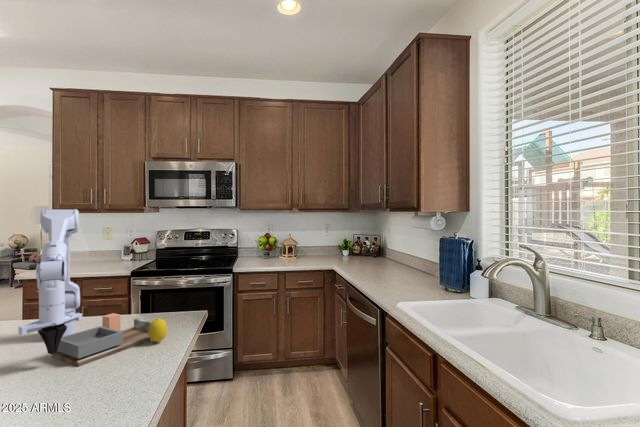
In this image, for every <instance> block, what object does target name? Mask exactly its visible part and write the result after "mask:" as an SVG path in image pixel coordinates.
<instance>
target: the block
mask: <svg viewBox="0 0 640 427" xmlns="http://www.w3.org/2000/svg"><path fill="white" fill-rule="evenodd" d="M101 317H102V320H101V321H102V324H101V326H103V327H106V328H110V329H114V330H118V331H121V314H118V313H114V312H113V313H109V314H106V315H102V316H101Z"/></svg>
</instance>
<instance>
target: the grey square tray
mask: <svg viewBox="0 0 640 427" xmlns="http://www.w3.org/2000/svg"><path fill="white" fill-rule="evenodd" d="M122 343H123V332H122V330H120V331H118V330H114V329H110V328H106V327H103V326H102V325H100V326H96V327H92V328H89V329H86V330H82V331H78V332H77V333H74V334H71V335H67V336H64V337H62V338H61V340H60V343H59V346H58V350H57V351H58V352H61V353H64V354H67V355H69V356H72V357H75V358H78V359H79V358H83V357H85V356H88V355H90V354H93V353H96V352H99V351H102V350H105V349H108V348H111V347H114V346H117V345H119V344H122Z"/></svg>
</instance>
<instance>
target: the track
mask: <svg viewBox="0 0 640 427" xmlns="http://www.w3.org/2000/svg"><path fill="white" fill-rule="evenodd" d="M152 322H153V321H150V320H145V319H142V318H139V317H138V318H134V319H133V327H129V328H126V329H123V330H122V329H121V331H122V332H123V343H122V344H119V345H117V346H114V347H111V348H108V349H105V350H102V351H99V352H96V353H93V354H90V355H88V356H85V357H83V358H79V359H78V358H75V357H72V356H69V355H67V354H64V353H61V352H58V351H57V353H54V354H51V357H52V358H54V359H56V360H60V361H62V362H66V363H67V364H70V365H73V366H76V367H81V366H84V365H87V364H90V363H93V362H95V361H98V360H101V359H103V358H106V357H108V356H111V355H114V354H116V353H120V352H122V351H125V350H127V349H131V348H133V347H135V346H138V345H141V344H145V343H146V342H149V341H152V340H151V338H150V337H149V327H150V324H151V323H152Z"/></svg>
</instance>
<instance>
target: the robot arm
mask: <svg viewBox="0 0 640 427" xmlns="http://www.w3.org/2000/svg"><path fill="white" fill-rule="evenodd" d="M39 218H40V226H41V228H42V230H43V232H44V233H45V234H48V241H47V242H46V243H44V244H43V246H42V251H41V258H40V261H39V262H40V263H37V264H36V266H35V279H36V282H37V290H38V320H37V321H33V322H31V323H30V322H29V323H28V324H25V325H21V326H18V327H17V328H18V329H17V330H18V331H17V332H18V335H19V336H25V335H27V334H31V333H33V332H37V333H38V334H39V336H40V338H41V339H42V341H43V342H44V346H45V347H46V350H47V354H50V355H52V354H54V353H57V350H58V346H59V343H60V340H61V338H62V337H64V336H67V335H71V334H74V333H78V332H77V331H76V322H79V321H82V320H83V313H82V312H81V313H80V312H76V309H78V308H80V306H81V291H80V286H79V285H78V284H77V283H75V282H73V281H71V237H72V235H74V234H77V233H78V231H79V228H80V211H79V210H78V209H77V208H74V209H64V208H63V209H58V208H57V209H52V208H51V209H46V208H42V210H41V211H40V216H39Z"/></svg>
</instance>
